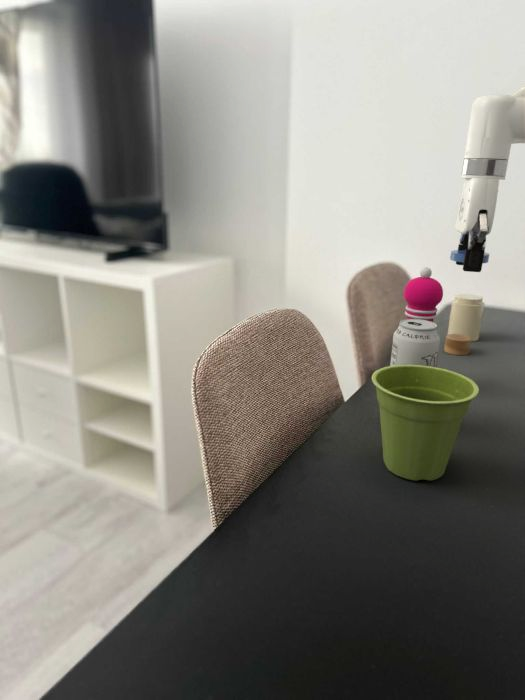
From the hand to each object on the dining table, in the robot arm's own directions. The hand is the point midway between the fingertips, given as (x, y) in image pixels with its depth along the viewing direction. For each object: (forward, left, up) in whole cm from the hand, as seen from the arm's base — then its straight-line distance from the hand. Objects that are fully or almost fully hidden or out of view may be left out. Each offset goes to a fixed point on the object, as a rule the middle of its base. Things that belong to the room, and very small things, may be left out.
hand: (467, 267), depth 99 cm
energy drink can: (+19, +33, -17) cm, 42 cm away
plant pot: (+21, +44, -17) cm, 52 cm away
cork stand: (0, 0, -17) cm, 17 cm away
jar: (-5, -10, -17) cm, 20 cm away
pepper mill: (+14, +18, -17) cm, 29 cm away
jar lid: (0, 0, +2) cm, 2 cm away
